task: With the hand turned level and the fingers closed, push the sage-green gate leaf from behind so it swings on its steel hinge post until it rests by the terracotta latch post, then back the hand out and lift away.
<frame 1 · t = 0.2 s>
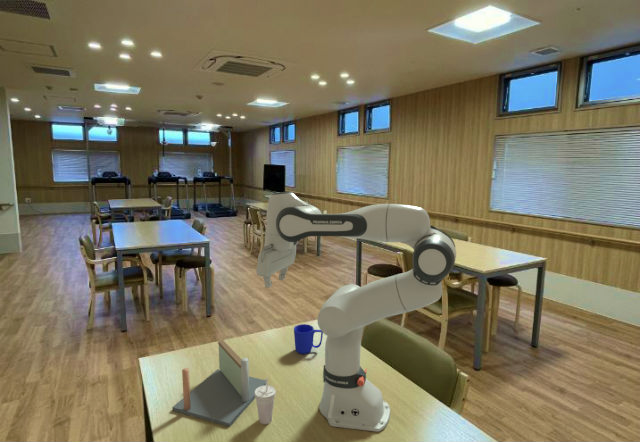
hand: (275, 283, 125), 39 cm above the table, tool pointing down, fingers open, 8 cm apart
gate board: (222, 396, 128), on the table
smoothie: (265, 420, 117), on the table
gate leaf: (231, 366, 133), point 8 cm above the table, hinge at -35.0°
mug: (308, 351, 160), on the table
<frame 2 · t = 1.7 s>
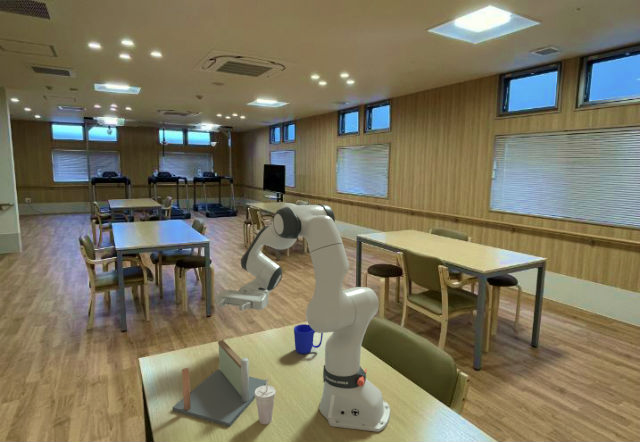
hand: (230, 306, 142), 25 cm above the table, tool horizontal, fingers open, 7 cm apart
nothing on the table moved.
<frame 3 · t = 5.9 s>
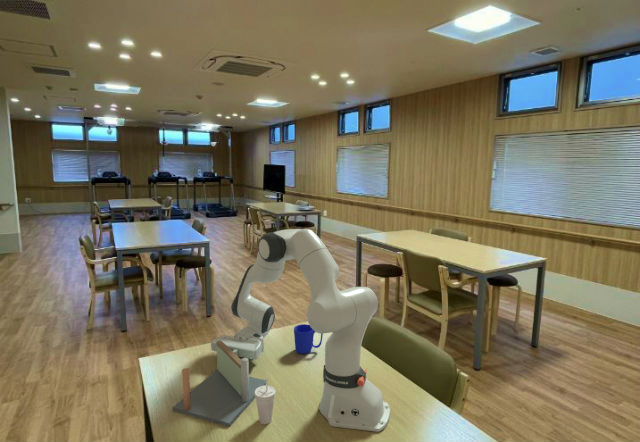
hand: (224, 356, 141), 7 cm above the table, tool horizontal, fingers closed
gate leaf: (230, 366, 133), point 8 cm above the table, hinge at -33.0°, touching gripper
everything else where it was.
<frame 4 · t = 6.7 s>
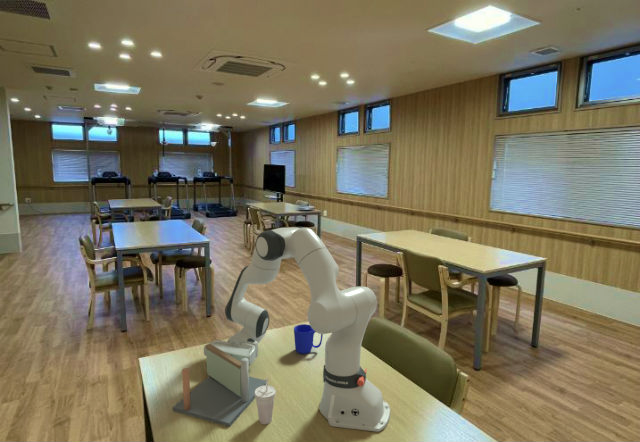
hand: (217, 362, 137), 7 cm above the table, tool horizontal, fingers closed
gate leaf: (224, 368, 131), point 8 cm above the table, hinge at -21.8°, touching gripper
everything else where it was.
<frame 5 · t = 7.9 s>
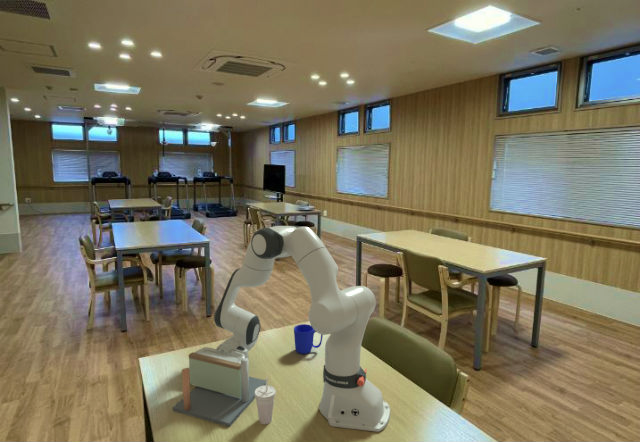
hand: (204, 371, 131), 7 cm above the table, tool horizontal, fingers closed, pressing on gate leaf
gate leaf: (215, 374, 128), point 8 cm above the table, hinge at -1.3°, touching gripper
everything else where it was.
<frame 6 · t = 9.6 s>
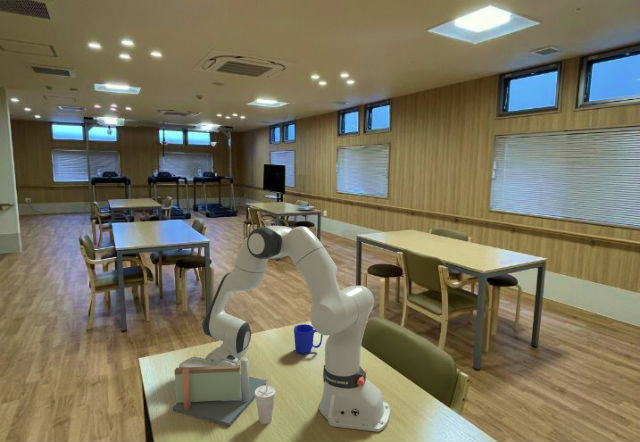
hand: (192, 383, 124), 7 cm above the table, tool horizontal, fingers closed
gate leaf: (208, 383, 123), point 8 cm above the table, hinge at 26.1°, touching gripper
everything else where it was.
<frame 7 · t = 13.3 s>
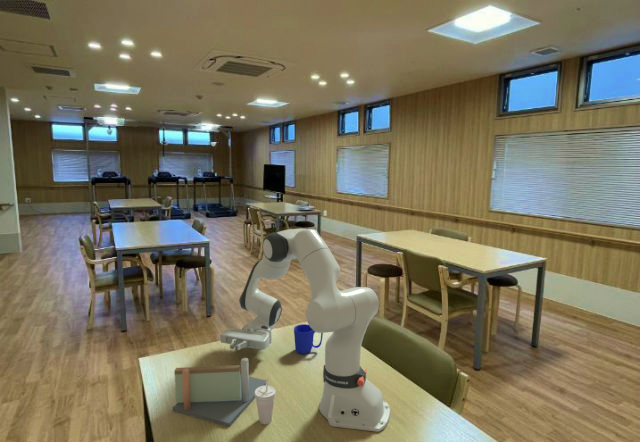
hand: (234, 347, 145), 8 cm above the table, tool horizontal, fingers closed
gate leaf: (208, 383, 123), point 8 cm above the table, hinge at 26.3°
everything else where it was.
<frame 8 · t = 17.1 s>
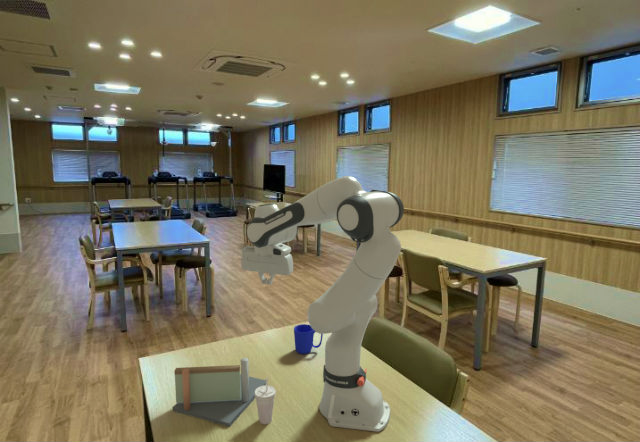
hand: (266, 283, 143), 33 cm above the table, tool pointing down, fingers closed
nothing on the table moved.
at the end: gate leaf at +26° (first picture: -35°); smoothie moved 0.2 cm from its start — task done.
